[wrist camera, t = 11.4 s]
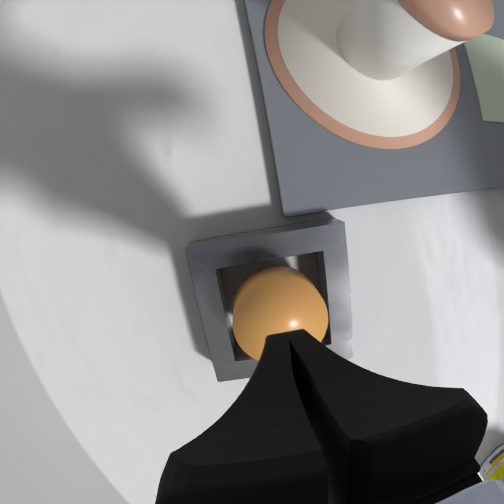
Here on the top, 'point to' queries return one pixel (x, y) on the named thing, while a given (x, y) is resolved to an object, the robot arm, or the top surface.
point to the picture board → (374, 113)
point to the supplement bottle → (493, 465)
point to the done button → (276, 308)
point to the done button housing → (261, 249)
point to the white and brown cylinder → (407, 32)
